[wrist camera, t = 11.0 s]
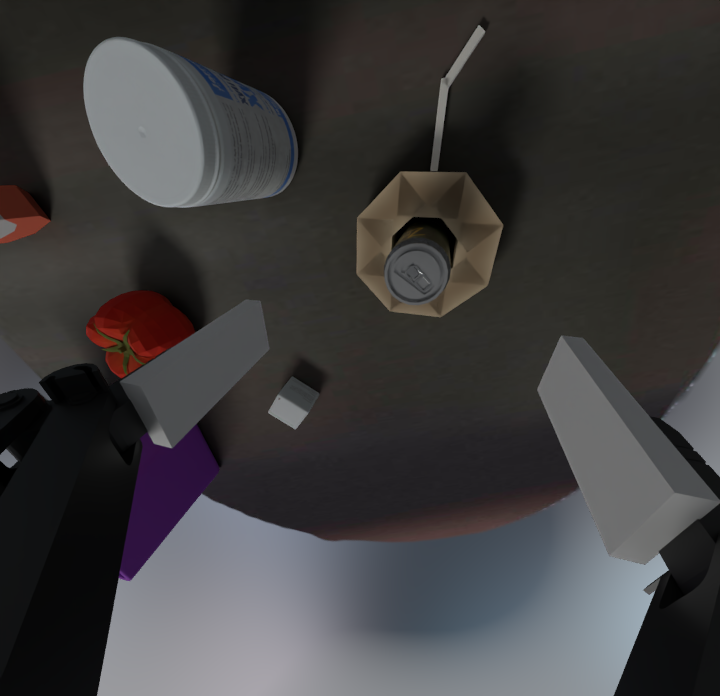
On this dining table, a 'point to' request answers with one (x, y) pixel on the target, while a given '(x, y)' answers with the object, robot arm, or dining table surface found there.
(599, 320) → the dining table surface
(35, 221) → the french fries container
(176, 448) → the shopping bag
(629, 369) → the dining table surface
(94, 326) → the tomato
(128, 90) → the supplement tub
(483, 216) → the tan octagonal bowl
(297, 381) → the small box
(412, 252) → the beer can
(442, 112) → the drinking straw
